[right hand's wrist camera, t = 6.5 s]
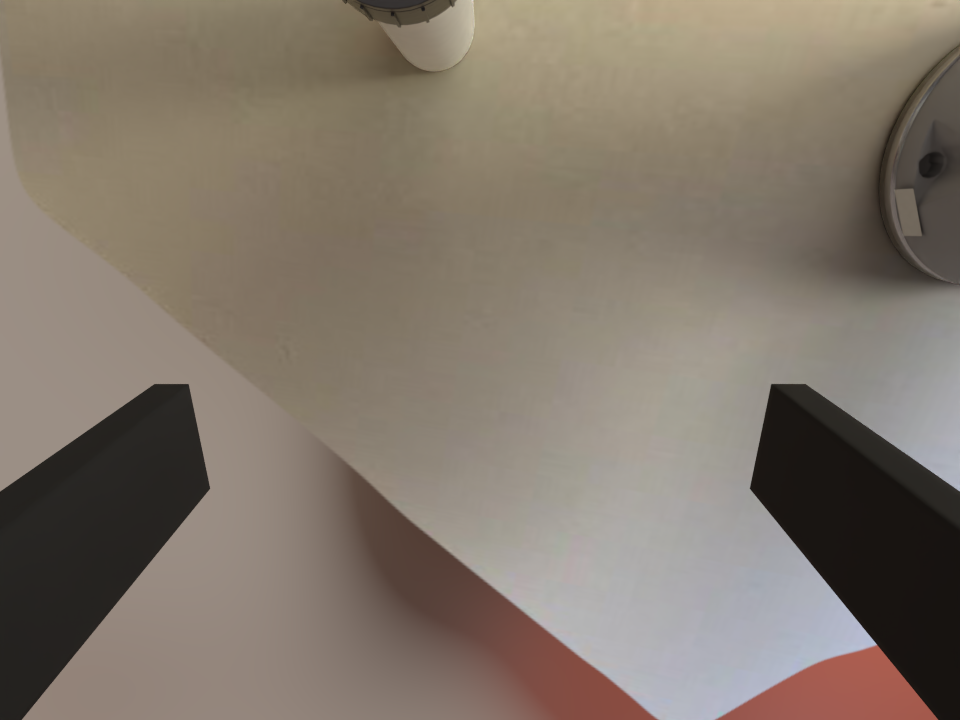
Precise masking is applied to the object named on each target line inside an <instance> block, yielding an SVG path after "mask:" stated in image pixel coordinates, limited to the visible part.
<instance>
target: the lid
mask: <svg viewBox="0 0 960 720" xmlns="http://www.w3.org/2000/svg"><path fill="white" fill-rule="evenodd" d="M342 1H343V2H344V3H345V4H346V3H347V2H348V3H349V4H350V5H351V6H353V7H354V8H355V9H356V10H358V11H359V12H361V13H362V14H364V15H366V16H367V18H368V19H369V20H370V21H373V19H374V20H376V21H380V22H383V23H386V24H393V25H397V26H398V27H399V28H401V25H412V24H418V23H421V22H425V21H426V23H429V22H430V21H429V20H430V19H432V18H434V17H436V16H438V15H440V14H441V13H443V12H444V11H446V10H447V9H448V8H449V7H450V6H452V7H454V6H455V2H456V1H457V0H342Z"/></svg>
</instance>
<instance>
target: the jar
mask: <svg viewBox="0 0 960 720" xmlns="http://www.w3.org/2000/svg"><path fill="white" fill-rule="evenodd" d="M429 21H430V22H429V23H426V21H425V22H421V23H418V24H412V25H401V28H399V27H398V26H397V25H393V24H386V23H383V22H380V21H377V22H378V23H379V24H380V26H381V27H382V28H383V30H384V31H385V32H386V34H387V35H388V36H389V38H390V39H391V40H392V42H393V43H394V44H395V45H396V47H397V48H398V49H399V51H400V52H401V53H402V55H403V56H404V57H405V58H406V59H407V60H408V61H409V62H410V63H411V64H413V65H414V66H416V67H418V68H420V69H422V70H426V71H431V72H437V71H443V70H447V69H449V68H451V67H453V66H454V65H456V64H457V63H458V62H460V61H461V60H462V58H463V57H464V56H465V55H466V53H467V52H468V50H469V48H470V46H471V43H472V40H473V35H474V3H473V0H457V1H456V2H455V6H454V7H452V6H450V7H449V8H448V9H447V10H446V11H444V12H443V13H441V14H440V15H438V16H436V17H434V18H432V19H430V20H429Z"/></svg>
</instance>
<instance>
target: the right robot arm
mask: <svg viewBox="0 0 960 720" xmlns="http://www.w3.org/2000/svg"><path fill="white" fill-rule="evenodd" d="M879 199H880V208H881V215H882V218H883V222H884V226H885V228H886V231H887V233H888V236H889V238H890V239H891V241H892V243H893V245H894V246H895V248H896V249H897V250H898V252H899V253H900V254H901V255H902V256H903V257H904V258H905V259H906V260H907V261H908V262H909V263H910V264H911V265H912V266H914V267H915V268H916V269H918V270H920V271H921V272H923V273H925V274H927V275H929V276H931V277H934V278H936V279H940V280H943V281H946V282H950V283H954V284H957V285H960V45H959V46H958V47H957V48H955V49H954V50H953V51H952V52H951V53H949V54H948V55H947V56H946V57H945V58H944V59H943V60H942V61H941V62H940V63H939V64H938V65H937V66H936V67H935V68H934V69H933V70H932V71H931V72H930V73H929V74H928V75H927V76H926V78H925V79H924V80H923V81H922V82H921V84H920V85H919V86H918V88H917V89H916V90H915V92H914V93H913V94H912V96H911V97H910V99H909V100H908V102H907V104H906V105H905V107H904V109H903V110H902V112H901V114H900V116H899V118H898V120H897V122H896V124H895V126H894V128H893V130H892V133H891V135H890V138H889V140H888V144H887V147H886V150H885V153H884V157H883V161H882V166H881V173H880V183H879ZM209 489H210V486H209V481H208V476H207V471H206V467H205V462H204V457H203V452H202V447H201V442H200V438H199V433H198V428H197V423H196V418H195V413H194V408H193V403H192V399H191V394H190V389H189V385H188V384H154V385H153V386H151V387H150V388H148V389H147V390H146V391H144V392H143V393H141V394H140V395H138V396H137V397H136V398H134V399H133V400H131V401H130V402H128V403H127V404H125V405H124V406H123V407H121V408H120V409H118V410H117V411H115V412H114V413H113V414H111V415H110V416H108V417H107V418H105V419H104V420H102V421H101V422H100V423H98V424H97V425H95V426H94V427H93V428H91V429H90V430H88V431H87V432H85V433H84V434H82V435H81V436H79V437H78V438H77V439H75V440H74V441H72V442H71V443H69V444H68V445H67V446H65V447H64V448H62V449H61V450H59V451H58V452H56V453H55V454H54V455H52V456H51V457H49V458H48V459H46V460H45V461H44V462H42V463H41V464H39V465H38V466H36V467H35V468H34V469H32V470H31V471H29V472H28V473H26V474H25V475H23V476H22V477H21V478H19V479H18V480H16V481H15V482H13V483H12V484H11V485H9V486H8V487H6V488H5V489H3V490H2V491H1V492H0V720H22V719H23V717H24V716H25V715H26V714H27V712H28V711H29V710H30V709H31V708H32V706H33V705H34V704H35V703H36V701H37V700H38V699H39V698H40V697H41V695H42V694H43V693H44V692H45V690H46V689H47V688H48V687H49V685H50V684H51V683H52V682H53V681H54V679H55V678H56V677H57V676H58V674H59V673H60V672H61V671H62V670H63V668H64V667H65V666H66V665H67V663H68V662H69V661H70V660H71V659H72V657H73V656H74V655H75V654H76V652H77V651H78V650H79V649H80V647H81V646H82V645H83V644H84V642H85V641H86V640H87V639H88V638H89V636H90V635H91V634H92V633H93V631H94V630H95V629H96V628H97V627H98V625H99V624H100V623H101V622H102V620H103V619H104V618H105V617H106V616H107V614H108V613H109V612H110V611H111V609H112V608H113V607H114V606H115V605H116V603H117V602H118V601H119V600H120V598H121V597H122V596H123V595H124V594H125V592H126V591H127V590H128V589H129V587H130V586H131V585H132V584H133V582H134V581H135V580H136V579H137V578H138V576H139V575H140V574H141V573H142V571H143V570H144V569H145V568H146V567H147V565H148V564H149V563H150V562H151V560H152V559H153V558H154V557H155V555H156V554H157V553H158V552H159V551H160V549H161V548H162V547H163V546H164V544H165V543H166V542H167V541H168V540H169V538H170V537H171V536H172V535H173V533H174V532H175V531H176V530H177V528H178V527H179V526H180V525H181V524H182V522H183V521H184V520H185V519H186V517H187V516H188V515H189V514H190V513H191V511H192V510H193V509H194V508H195V506H196V505H197V504H198V503H199V502H200V500H201V499H202V498H203V497H204V495H205V494H206V493H207V492H208V491H209ZM750 489H751V491H752V492H753V493H754V494H755V495H756V497H757V498H758V499H759V500H760V502H761V503H762V504H763V505H764V506H765V508H766V509H767V510H768V511H769V513H770V514H771V515H772V516H773V517H774V519H775V520H776V521H777V522H778V524H779V525H780V526H781V527H782V529H783V530H784V531H785V532H786V533H787V535H788V536H789V537H790V538H791V540H792V541H793V542H794V543H795V544H796V546H797V547H798V548H799V549H800V551H801V552H802V553H803V554H804V556H805V557H806V558H807V559H808V560H809V562H810V563H811V564H812V565H813V567H814V568H815V569H816V570H817V571H818V573H819V574H820V575H821V576H822V578H823V579H824V580H825V581H826V582H827V584H828V585H829V586H830V587H831V589H832V590H833V591H834V592H835V594H836V595H837V596H838V597H839V598H840V600H841V601H842V602H843V603H844V605H845V606H846V607H847V608H848V609H849V611H850V612H851V613H852V614H853V616H854V617H855V618H856V619H857V621H858V622H859V623H860V624H861V625H862V627H863V628H864V629H865V630H866V632H867V633H868V634H869V635H870V636H871V638H872V639H873V640H874V641H875V643H876V644H877V645H878V646H879V647H880V649H881V650H882V651H883V652H884V654H885V655H886V656H887V657H888V659H889V660H890V661H891V662H892V663H893V665H894V666H895V667H896V668H897V670H898V671H899V672H900V673H901V674H902V676H903V677H904V678H905V679H906V681H907V682H908V683H909V684H910V685H911V687H912V688H913V689H914V690H915V692H916V693H917V694H918V695H919V697H920V698H921V699H922V700H923V701H924V703H925V704H926V705H927V706H928V708H929V709H930V710H931V711H932V712H933V714H934V715H935V716H936V717H937V719H938V720H960V491H958V490H957V489H955V488H954V487H952V486H951V485H949V484H948V483H947V482H945V481H944V480H942V479H941V478H939V477H938V476H937V475H935V474H934V473H932V472H931V471H929V470H928V469H926V468H925V467H924V466H922V465H921V464H919V463H918V462H916V461H915V460H914V459H912V458H911V457H909V456H908V455H906V454H905V453H904V452H902V451H901V450H899V449H898V448H896V447H895V446H893V445H892V444H891V443H889V442H888V441H886V440H885V439H883V438H882V437H881V436H879V435H878V434H876V433H875V432H873V431H872V430H870V429H869V428H868V427H866V426H865V425H863V424H862V423H860V422H859V421H858V420H856V419H855V418H853V417H852V416H850V415H849V414H848V413H846V412H845V411H843V410H842V409H840V408H839V407H837V406H836V405H835V404H833V403H832V402H830V401H829V400H827V399H826V398H825V397H823V396H822V395H820V394H819V393H817V392H816V391H814V390H813V389H812V388H810V387H809V386H807V385H806V384H771V389H770V394H769V399H768V403H767V408H766V413H765V418H764V423H763V428H762V433H761V437H760V442H759V447H758V452H757V457H756V462H755V467H754V471H753V476H752V481H751V486H750Z"/></svg>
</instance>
